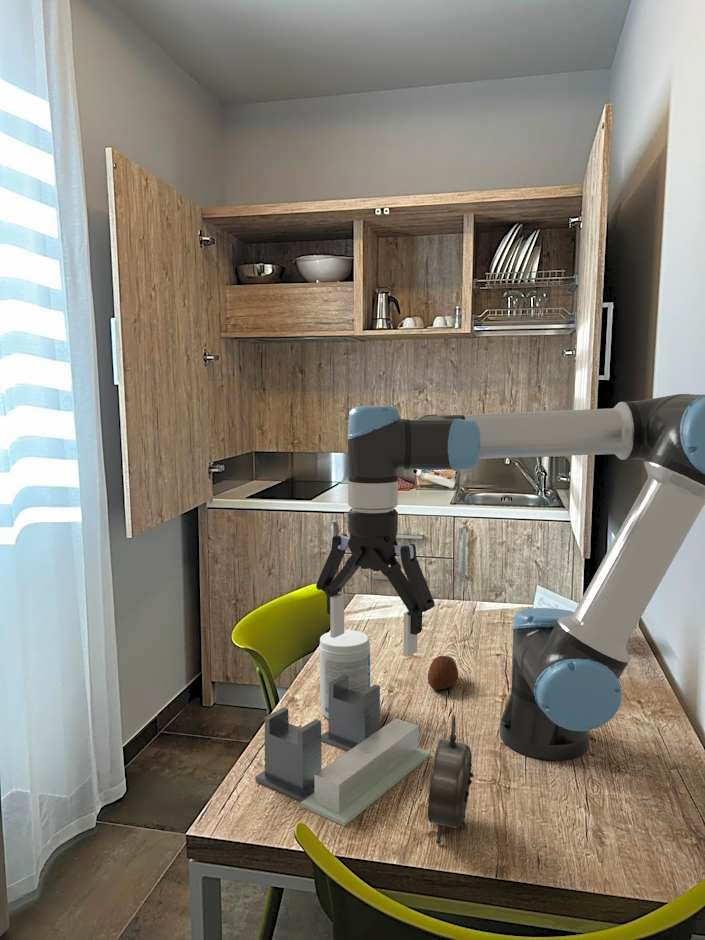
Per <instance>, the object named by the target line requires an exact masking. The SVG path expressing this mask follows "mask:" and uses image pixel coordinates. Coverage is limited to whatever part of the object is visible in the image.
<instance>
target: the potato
mask: <svg viewBox="0 0 705 940" xmlns="http://www.w3.org/2000/svg"><path fill="white" fill-rule="evenodd" d="M458 679H459V670H458V666H457V663H456V660H455V659H454V658H453V657H451V656H449V655H439V656H437V657H435V658H433V660H432V662H431V664H430V665H429V668H428V672H427V681H428V682H427V683H428V684H429V686H430V687H431V688H432V689H434V690H444V689H448V688H452V687H454V686H455V684H456V683H457V682H458Z"/></svg>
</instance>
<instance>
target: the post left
mask: <svg viewBox="0 0 705 940" xmlns="http://www.w3.org/2000/svg"><path fill="white" fill-rule="evenodd" d="M321 735H322V720H320V719H317V718H315V719H313V720H311V721H310V722H309V723H307V724H305V725H304V726H301V727H299V726H297V725H294V724H292V723H289V708H287V707H286V706H285V707H284V706H283V707H281V708H279V709H277V710H276V711H274V712H272V713H270V714H268V715H266V716H264V771H261V772H260V773H258V774H257V775H255V777H254V779H255V780H254V781H255V782H256V783H259V784H261V785H263V786H265V787H267V788H270V789H271V790H274V791H275V792H278V793H281V794H282V795H285V796H287V797H289V798H290V799H294V800H296V801H298V802H300V803H301V802H302V801H303V800H305V799H306V798H308V797H309V796H310V795H312V794H313V793H314V775H315V774H316V773H317V772H319V771H320V770H322V741H321Z"/></svg>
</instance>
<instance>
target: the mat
mask: <svg viewBox="0 0 705 940" xmlns="http://www.w3.org/2000/svg"><path fill="white" fill-rule="evenodd" d="M430 757H431V751H429V750H425V749H422V748H420V747H418V752H417V753H416V754H414V755H413V756H412V757H411V758H409V759H408V760H407V761H405V762H404V763H403V764H402V765H400V766H399V767H398V768H397V769H395V770H394V771H393V772H392V773H390V774H389V775H388V776H387V777H385V778H384V779H383V780H382V781H380V782H379V783H378V784H377V785H375V786H374V787H373V788H372V789H370V790H369V791H368V792H367V793H365V794H364V795H363V796H362V797H360V798H359V799H358V800H357V801H355V802H354V803H353V804H352V805H350V806H349V807H348V808H347V809H345V810H344V811H343V812H341V813H340V814H337V813H334V812H332V811H330V810H328V809H326V808H323V807H321V806H319V805H317V804H314V793H313V794H312V795H310V796H309V797H308V798H306V799H305V800H303V801H302V802H300V807H301V808H304V809H306V810H308V811H311V813H314V814H317V815H319V816H322V817H323V818H325V819H327V820H330V821H332V822H334V823H336V824H339V825H341V826H343V827H345V826H346V825H348V824H349V823H350V822H351V821H353V820H354V819H355V818H356V817H357V816H359V815H360V814H361V813H362V812H364V811H365V810H366V809H367V808H368V807H370V806H371V805H372V804H373V803H374V802H376V801H377V800H378V799H380V798H381V797H382V796H383V795H385V794H386V793H387V792H388V791H389V790H391V789H392V788H394V786H396V785H397V784H398V783H399V782H400V781H401V780H403V779H404V778H405V777H407V776H408V775H409V774H410V773H411V772H412V771H413V770H415V769H416V768H417V767H419V766H420V765H421V764H422V763H424V762H425V760H427V759H428V758H430Z"/></svg>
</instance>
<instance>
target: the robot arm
mask: <svg viewBox="0 0 705 940" xmlns="http://www.w3.org/2000/svg"><path fill="white" fill-rule="evenodd" d="M347 427H348V428H347V431H348V432H347V463H348V464H347V466H348V469H347V470H348V472H347V474H348V476H347V477H348V480H347V505H348V506H349V507H350V509H349V511H348V513H347V515H348V516H347V518H348V519H347V522H348V523H347V525H348V526H347V531H348V533H349V536H348V535H347V534H346V533H342V534H341V533H340V534H337V535H334V536H332V539H331V549H330V552H329V555H328V556H327V558H326V561H325V564H324V566H323V568H322V570H321V573H320V575H319V577H318V579H317V582H316V585H315V587H316V589H317V590H318V591H322V592H324V594H325V596H326V613H327V615H328V616H329V615H330V618H329V620H330V623H329V624H330V625H329V626H330V631H329V632H330V637H332V638H335V637H337V636H339V635H342V634H344V630H345V593H342V589H343V588H344V587H345V585H347V583H348V582H349V580H350V579H351V578H352V577H353V576H354V574H356V572H357V571H358V569H363V570H368V569H370V570H372V571H373V572H381V574H382V575H383V576H385V577H386V578H387V579H388V581H389V583H390V584H391V586H392V587H393V589H394V590H395V592H396V593H397V595H398V597H399V598H400V600H401V601H402V603H403V605H404V606H405V607H406V609H407V611H406V612H404V613H403V657H406V658H409V657H410V656H413V654H415V653H417V652H418V634H421V633H422V632H423V613H425V612H427V611H430V610H432V609H433V608H435V606H436V603H435V600H434V597H433V596H432V593H431V591H430V588H429V585H428V584H427V581H426V579H425V575H424V574H423V571H422V569H421V566H420V564H419V561H418V557H417V547H416V544H414V543H409V544H406V545H405V544H404V545H403V544H401V545H400V544H398V542H397V541H398V540H397V537H398V531H399V527H398V526H399V515H398V514H399V513H398V511H397V509H395V508H396V507H397V506H398V504H399V500H398V498H399V497H398V496H399V475H398V474H399V470H438V471H439V470H444V471H445V470H446V471H447V470H449V471H451V470H452V471H454V472H457V471H460V470H472V469H475V468H476V467H477V466H478V464H479V462H480V459H481V460H484V459H486V460H487V459H506V458H507V459H509V458H511V459H512V458H537V457H561V456H562V457H564V456H565V457H566V456H567V457H568V456H589V455H590V456H594V455H597V456H598V455H599V456H600V455H615V456H616V458H618V459H619V460H622V461H623V460H624V461H625V460H639V461H640V460H641V461H642V460H643V461H644V463H643V464H644V467H645V470H646V473H647V479H646V481H645V483H644V485H643V486H642V488H641V490H640V492H639V493H638V496H637V497H636V498H635V501H634V503H633V505H632V506H631V509H630V510H629V512H628V513H627V515H626V518H625V519H624V521H623V523H622V524H621V526H620V528H619V531H618V532H617V534H616V536H615V537H614V539H613V541H612V543H611V544H610V547H609V548H608V550H607V551H606V554H605V556H604V557H603V559H602V560H601V562H600V565H599V566H598V568H597V570H596V572H595V574H594V575H593V577H592V579H591V582H590V583H589V585H588V586H587V588H586V590H585V592H584V593H583V595H582V597H581V599H580V601H579V603H578V604H577V605H576V608H575V610H574V611H575V612H573V611H572V610H568V609H561V608H552V607H532V608H531V607H530V608H524V609H521V610H519V611H517V612H516V613H515V614H514V617H513V625H512V627H511V629H512V652H511V653H512V656H511V658H512V659H511V660H512V661H511V663H512V664H511V690H510V691H511V692H510V694H509V698H508V699H507V702H506V704H505V707H504V710H503V713H502V714H501V718H500V722H499V736H500V739H501V740H502V742H503V743H504V744H505V745H506V746H508V747H509V748H510V749H512V750H514V751H516V752H517V753H519V754H521V755H523V756H528V757H530V758H531V757H532V758H535V759H540V760H548V761H564V760H569V759H571V760H572V759H576V758H578V757H580V756H583V755H584V754H585V753H586V752H587V751H588V749H589V745H590V730H595V729H598V728H601V727H602V726H604V725H606V724H608V722H609V721H611V720H612V719H613V718H614V716H615V715H616V714H617V713H618V710H619V709H620V706H621V702H622V694H623V693H622V686H621V683H620V679H621V677H622V675H623V673H624V671H625V669H626V667H627V665H628V663H629V662H630V656H629V652H628V649H627V643H628V641H629V639H630V637H631V636H632V634H633V632H634V631H635V628H636V627H637V626H638V623H639V622H640V620H641V619H642V616H643V614H644V612H645V611H646V609H647V607H648V606H649V604H650V602H651V600H652V598H653V596H654V595H655V593H656V591H657V590H658V588H659V586H660V584H661V582H662V581H663V579H664V577H665V575H666V573H667V571H668V570H669V568H670V566H671V565H672V563H673V561H674V559H675V557H676V555H678V553H679V551H680V548H681V547H682V545H683V543H684V542H685V539H686V538H687V536H688V534H689V533H690V532H691V529H692V527H693V526H694V524H695V522H696V520H697V519H698V517H699V515H700V513H701V511H702V509H703V508H704V506H705V394H694V393H693V394H691V393H678V394H672V395H666V396H661V397H655V398H649V399H648V398H647V399H642V400H632V401H619V402H618V403H617V404H616V405H615V406H613V408H612V407H611V408H609V407H608V408H589V409H569V410H568V409H567V410H566V409H565V410H547V411H546V410H544V411H542V410H541V411H520V412H519V411H518V412H517V411H516V412H499V413H496V412H495V413H472V414H448V415H446V414H445V415H439V414H428V415H427V414H426V415H423V416H422V417H419V418H418V419H409V418H408V419H405V418H401V416H400V415H399V408H398V407H396V406H394V405H393V406H392V405H390V406H389V405H358V406H354V407H352V409H351V410H350V411H349V414H348V426H347ZM347 549H349V551H350V552H351V555H350V556H349V558H348V559H347V560H346V561H345V563H344V564H345V565H344V566H343V567H342V568H341V570H340V571H339V572H338V570H339V567H340V565H341V563H342V561H343V559H344V556H345V554H346V551H347ZM397 555H398V556H397ZM396 556H397V557H398V559H399V560H400V562H401V564H402V566H401V564H400V563H399V561H398V559H397V558H396ZM402 568H403V571H404V572H403V571H402ZM340 592H341V593H340Z"/></svg>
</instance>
